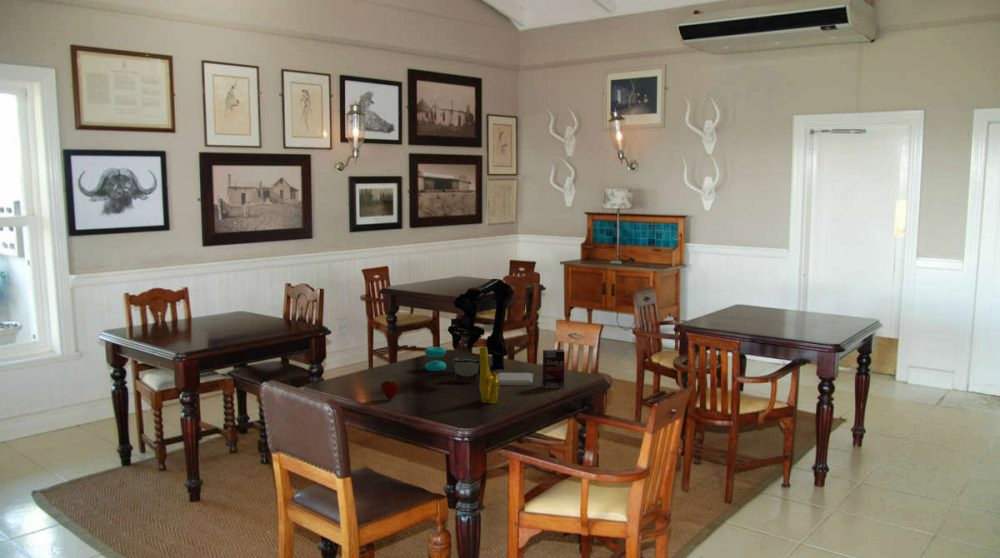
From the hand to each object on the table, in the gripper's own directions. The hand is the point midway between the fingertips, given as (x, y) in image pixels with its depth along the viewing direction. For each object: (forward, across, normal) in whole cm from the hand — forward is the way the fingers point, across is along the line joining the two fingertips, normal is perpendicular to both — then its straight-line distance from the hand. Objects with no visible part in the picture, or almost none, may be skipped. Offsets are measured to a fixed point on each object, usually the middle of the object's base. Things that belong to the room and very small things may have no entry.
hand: (461, 349), depth 347 cm
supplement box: (+8, +34, +26) cm, 44 cm away
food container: (+12, -1, +9) cm, 15 cm away
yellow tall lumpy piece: (+23, +32, -6) cm, 40 cm away
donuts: (+8, -27, +11) cm, 30 cm away
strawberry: (+31, +1, -31) cm, 44 cm away
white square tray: (+8, +15, +22) cm, 27 cm away
